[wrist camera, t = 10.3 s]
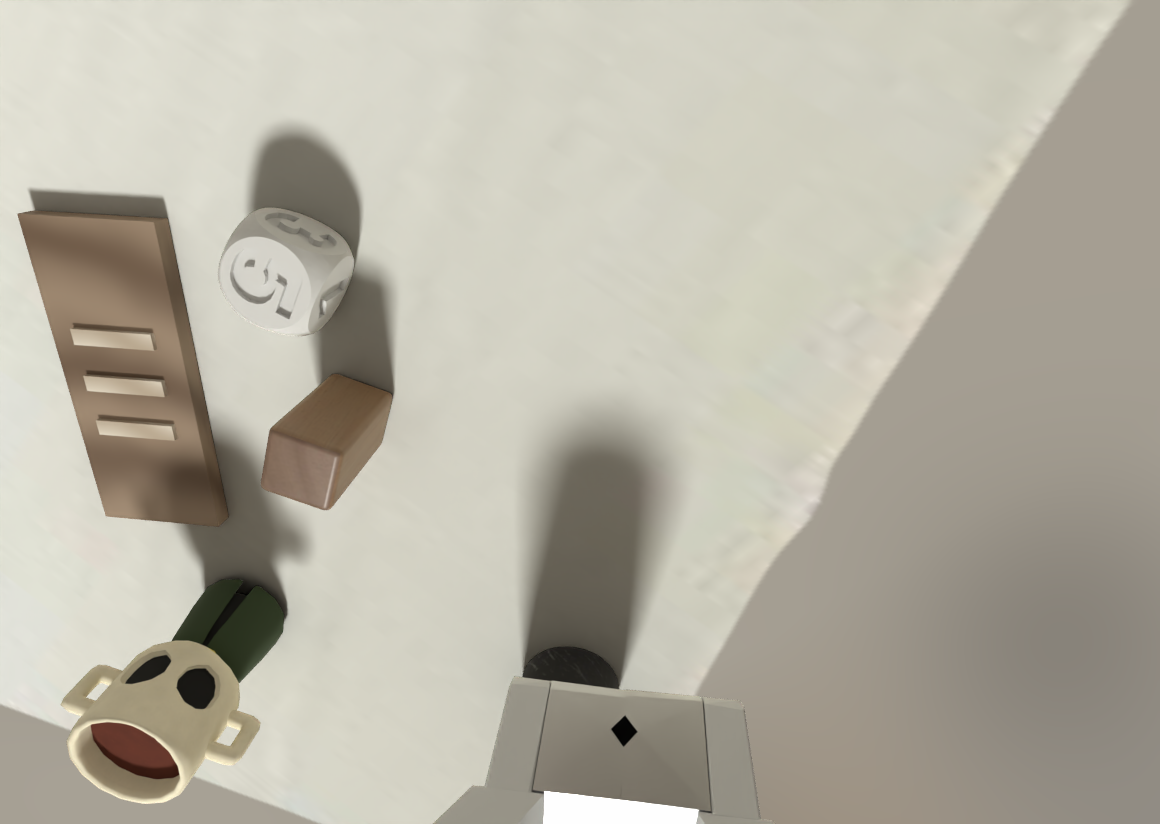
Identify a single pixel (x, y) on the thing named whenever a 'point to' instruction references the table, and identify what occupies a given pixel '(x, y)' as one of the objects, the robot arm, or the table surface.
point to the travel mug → (571, 667)
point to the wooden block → (325, 441)
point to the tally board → (128, 362)
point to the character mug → (174, 699)
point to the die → (285, 271)
